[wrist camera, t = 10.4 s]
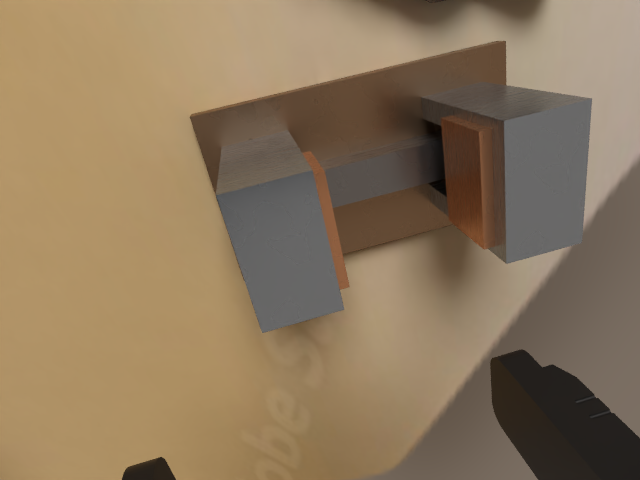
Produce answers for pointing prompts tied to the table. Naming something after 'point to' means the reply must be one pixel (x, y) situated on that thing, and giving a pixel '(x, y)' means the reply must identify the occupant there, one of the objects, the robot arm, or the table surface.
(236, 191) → the block
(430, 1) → the sculpture
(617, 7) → the table surface
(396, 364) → the table surface
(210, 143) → the rail
